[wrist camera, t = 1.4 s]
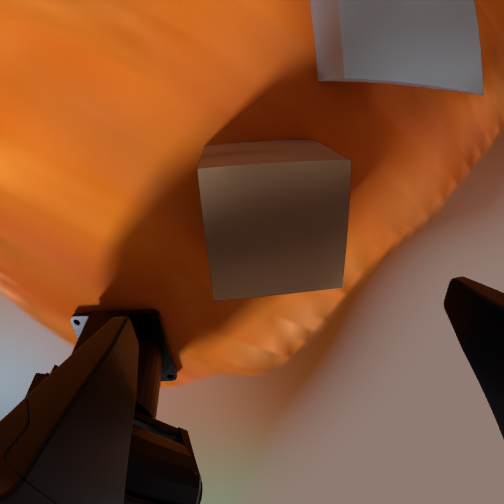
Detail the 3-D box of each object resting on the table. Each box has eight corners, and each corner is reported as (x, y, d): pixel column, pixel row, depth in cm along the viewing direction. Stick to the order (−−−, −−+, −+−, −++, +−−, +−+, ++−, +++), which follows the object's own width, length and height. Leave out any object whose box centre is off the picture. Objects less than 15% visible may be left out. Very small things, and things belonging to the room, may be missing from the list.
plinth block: (439, 89, 15) (483, 95, 11) (316, 81, 15) (344, 78, 11) (426, -26, 11) (464, -40, 8) (301, -49, 11) (322, -80, 7)
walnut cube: (310, 234, 18) (342, 287, 14) (214, 242, 18) (214, 301, 13) (311, 138, 16) (351, 159, 11) (204, 145, 16) (197, 168, 11)
